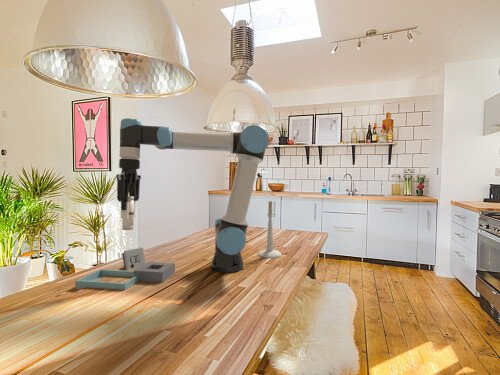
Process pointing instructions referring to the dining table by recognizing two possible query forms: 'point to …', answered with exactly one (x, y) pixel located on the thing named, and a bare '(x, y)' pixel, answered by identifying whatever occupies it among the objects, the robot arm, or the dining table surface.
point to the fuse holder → (155, 272)
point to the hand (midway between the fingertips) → (128, 217)
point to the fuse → (129, 222)
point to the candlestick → (269, 239)
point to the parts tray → (93, 282)
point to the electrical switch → (133, 258)
